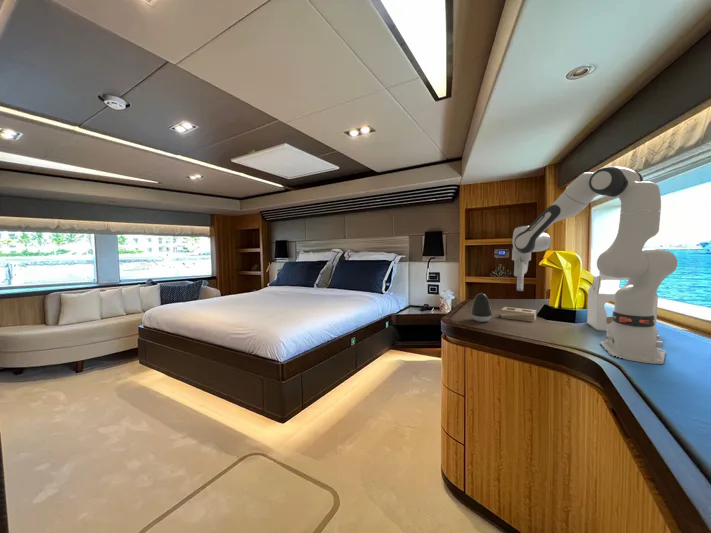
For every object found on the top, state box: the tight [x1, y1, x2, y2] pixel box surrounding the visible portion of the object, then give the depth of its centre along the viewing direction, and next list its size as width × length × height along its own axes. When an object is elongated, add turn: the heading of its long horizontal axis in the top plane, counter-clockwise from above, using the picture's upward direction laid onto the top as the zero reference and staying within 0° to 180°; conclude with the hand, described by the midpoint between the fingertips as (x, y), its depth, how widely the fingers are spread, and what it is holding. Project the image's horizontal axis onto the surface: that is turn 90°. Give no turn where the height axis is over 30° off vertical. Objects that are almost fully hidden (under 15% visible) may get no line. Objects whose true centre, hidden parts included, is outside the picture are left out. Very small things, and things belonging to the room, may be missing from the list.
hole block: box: [500, 306, 537, 322], centre depth 167 cm, size 9×16×4 cm, turn 53°
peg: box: [516, 274, 525, 292], centre depth 160 cm, size 3×3×10 cm
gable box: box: [586, 272, 659, 332], centre depth 144 cm, size 22×13×28 cm, turn 68°
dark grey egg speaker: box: [470, 292, 493, 323], centre depth 163 cm, size 10×10×15 cm
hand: (520, 282), depth 160 cm, fingers closed on peg, 3 cm apart
